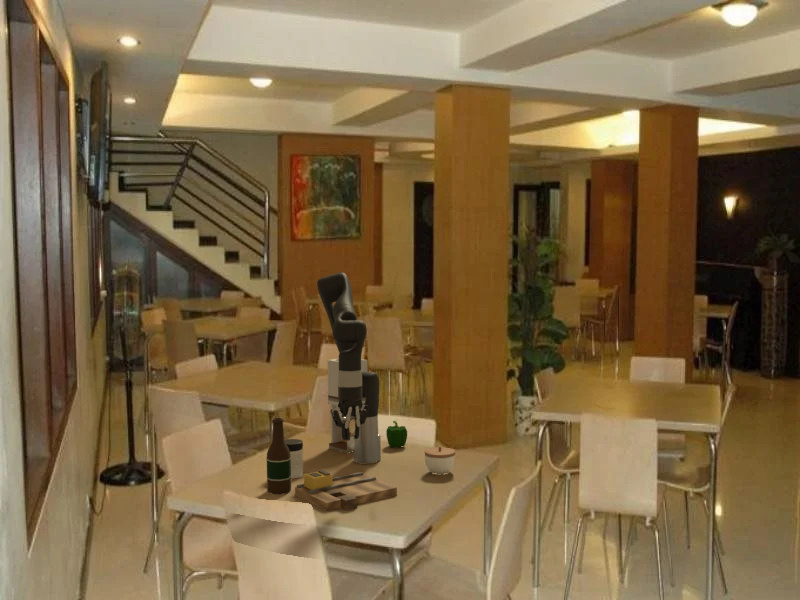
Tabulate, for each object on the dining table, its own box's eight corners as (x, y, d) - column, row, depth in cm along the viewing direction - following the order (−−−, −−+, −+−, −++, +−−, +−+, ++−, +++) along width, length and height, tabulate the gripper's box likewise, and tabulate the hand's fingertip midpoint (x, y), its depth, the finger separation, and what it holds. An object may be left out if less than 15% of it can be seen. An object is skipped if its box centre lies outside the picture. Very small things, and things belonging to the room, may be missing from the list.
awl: (352, 448, 268) (352, 417, 267) (357, 450, 265) (357, 418, 265) (344, 450, 266) (344, 418, 265) (349, 451, 263) (349, 420, 263)
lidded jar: (429, 467, 304) (429, 442, 303) (458, 469, 301) (458, 443, 300) (421, 475, 294) (421, 449, 293) (451, 478, 291) (451, 451, 290)
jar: (285, 480, 290) (284, 445, 289) (274, 474, 297) (274, 441, 296) (308, 476, 295) (307, 442, 294) (297, 470, 302) (297, 437, 301)
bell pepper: (407, 449, 331) (407, 423, 330) (386, 449, 331) (386, 424, 330) (407, 444, 339) (406, 419, 339) (386, 444, 339) (386, 419, 338)
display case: (329, 448, 334) (327, 360, 331) (350, 443, 341) (348, 357, 338) (347, 453, 325) (346, 362, 323) (368, 448, 332) (367, 360, 330)
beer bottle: (280, 496, 272) (279, 422, 271) (262, 492, 276) (260, 419, 275) (296, 489, 279) (294, 417, 277) (277, 486, 283) (276, 415, 281)
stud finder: (323, 482, 277) (322, 469, 277) (332, 486, 272) (332, 473, 272) (304, 486, 273) (304, 472, 273) (313, 490, 268) (313, 476, 268)
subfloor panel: (358, 479, 291) (358, 469, 290) (402, 497, 269) (402, 487, 269) (290, 492, 276) (290, 482, 275) (331, 513, 254) (331, 502, 254)
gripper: (362, 380, 271) (362, 434, 272) (324, 385, 263) (325, 440, 264) (375, 383, 265) (375, 438, 266) (337, 388, 257) (338, 444, 258)
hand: (350, 438), depth 265 cm, fingers closed on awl, 3 cm apart
